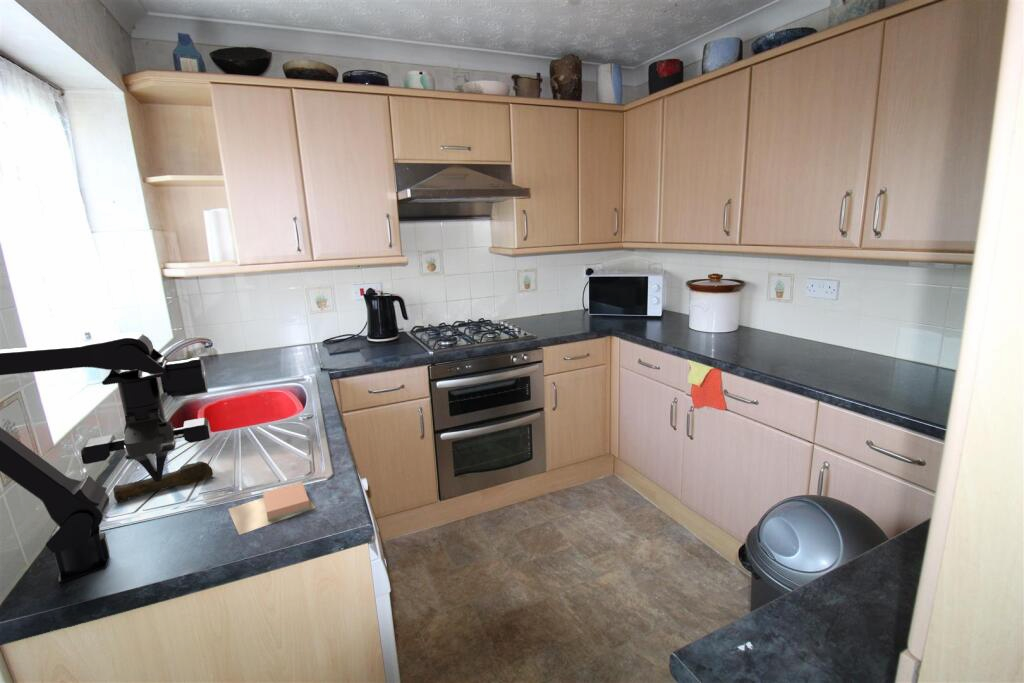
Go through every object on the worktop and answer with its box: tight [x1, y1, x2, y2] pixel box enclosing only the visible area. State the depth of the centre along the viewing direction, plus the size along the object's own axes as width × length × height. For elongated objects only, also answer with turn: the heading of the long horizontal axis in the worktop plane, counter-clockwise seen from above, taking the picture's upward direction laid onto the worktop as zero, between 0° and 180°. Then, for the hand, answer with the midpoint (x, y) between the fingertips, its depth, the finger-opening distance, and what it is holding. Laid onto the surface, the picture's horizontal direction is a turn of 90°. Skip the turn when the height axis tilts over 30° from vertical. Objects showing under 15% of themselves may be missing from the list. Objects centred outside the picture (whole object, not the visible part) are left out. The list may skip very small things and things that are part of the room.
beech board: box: [227, 497, 317, 536], centre depth 105 cm, size 14×12×1 cm
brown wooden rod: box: [112, 461, 214, 504], centre depth 116 cm, size 19×4×5 cm, turn 123°
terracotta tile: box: [262, 482, 310, 521], centre depth 106 cm, size 2×9×8 cm
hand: (158, 481), depth 93 cm, fingers closed
